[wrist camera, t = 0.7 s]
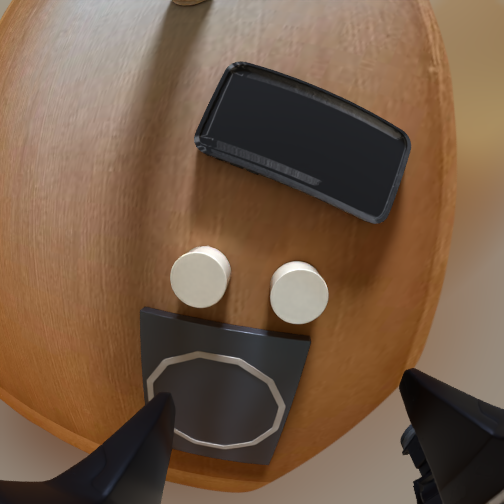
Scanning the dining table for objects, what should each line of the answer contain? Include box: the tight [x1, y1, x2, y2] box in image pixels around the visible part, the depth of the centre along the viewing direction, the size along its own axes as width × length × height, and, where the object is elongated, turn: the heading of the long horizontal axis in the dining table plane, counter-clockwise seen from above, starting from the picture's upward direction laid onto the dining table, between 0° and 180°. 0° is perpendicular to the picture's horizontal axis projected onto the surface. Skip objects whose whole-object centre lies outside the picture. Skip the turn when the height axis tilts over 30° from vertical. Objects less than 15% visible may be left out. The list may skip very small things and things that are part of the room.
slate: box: [140, 307, 311, 465], centre depth 22 cm, size 14×18×1 cm
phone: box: [194, 62, 411, 224], centre depth 18 cm, size 8×1×15 cm
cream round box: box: [170, 246, 231, 308], centre depth 19 cm, size 4×4×2 cm
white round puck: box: [270, 261, 329, 324], centre depth 19 cm, size 4×4×2 cm
